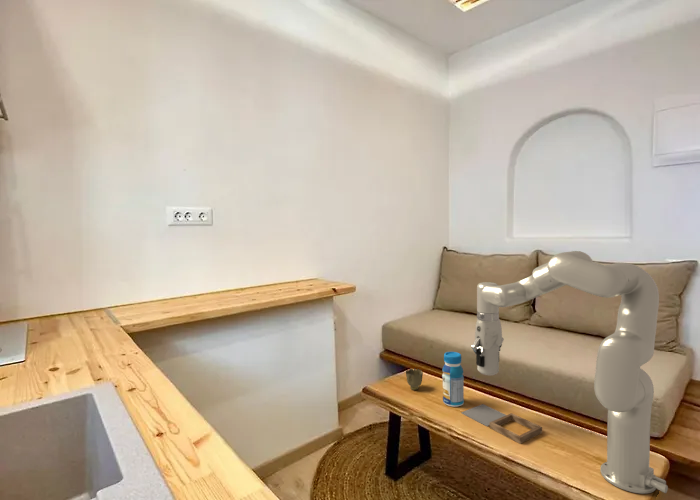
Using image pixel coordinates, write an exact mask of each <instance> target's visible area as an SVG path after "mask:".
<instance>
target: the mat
mask: <svg viewBox="0 0 700 500" xmlns="http://www.w3.org/2000/svg"><path fill="white" fill-rule="evenodd" d="M461 414H462V415H463V416H466V417H468V418H470V419H472V420H473V421H475V422H477V423H479V424H481V425H484V426H485V427H486V428H488V427H490V422H492V421H494V420H497V419H499V418H501V417H504V416H506V415H507V414H506V413H503V412H501V411H500V410H497V409H495V408H492V407H491V406H488V405H486V404H484V403H482V404H479V405H476V406H474V407H471V408H469V409H467V410H464V411H461Z"/></svg>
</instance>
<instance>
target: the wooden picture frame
mask: <svg viewBox="0 0 700 500" xmlns="http://www.w3.org/2000/svg"><path fill="white" fill-rule="evenodd" d="M505 415H506V416H504V417H501V418H499V419H497V420H494V421H492V422H490V426H489V428H490V429H491V430H493V432H494V431H495V432H496V433H498V434H501V435H503V436H504V437H506V438H508V439H509V440H512V441H514V442H516V443H518V444H523V443H524V442H527V441H529V440H531V439H533V438H535V437H537V436H539V435H541V434H543V427H542V426H541V425H538V424H536V423H535V422H532V421H529V420H528V419H525V418H523V417H521V416H518V415H517V414H514V413H508V414H505ZM511 421H513V422H515V423H517V424H519V425H521V426H523V427H526V428H527V429H529V430H528V431H526V432H524V433H521V434H517V433H515V432H513V431H511V430H509V429H508V428H505V427H503V426H502V425H504V424H507V423H509V422H511Z"/></svg>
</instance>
